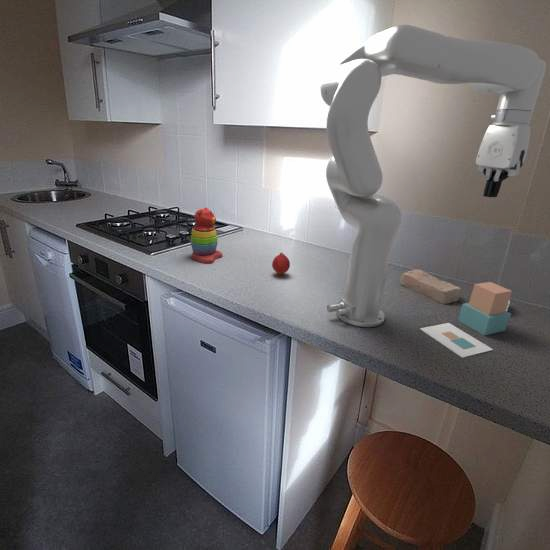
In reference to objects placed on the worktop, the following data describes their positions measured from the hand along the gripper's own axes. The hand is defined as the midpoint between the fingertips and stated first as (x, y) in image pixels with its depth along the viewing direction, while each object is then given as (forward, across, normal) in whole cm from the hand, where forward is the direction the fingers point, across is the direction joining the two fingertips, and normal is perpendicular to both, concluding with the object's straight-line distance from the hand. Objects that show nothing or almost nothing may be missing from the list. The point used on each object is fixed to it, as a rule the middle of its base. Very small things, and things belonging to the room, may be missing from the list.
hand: (489, 196), depth 93 cm
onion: (+32, -36, -41) cm, 63 cm away
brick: (+33, -11, 0) cm, 35 cm away
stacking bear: (+32, -58, -61) cm, 90 cm away
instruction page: (+32, +13, -16) cm, 38 cm away
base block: (+32, +10, -3) cm, 34 cm away
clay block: (+27, +10, -3) cm, 29 cm away
